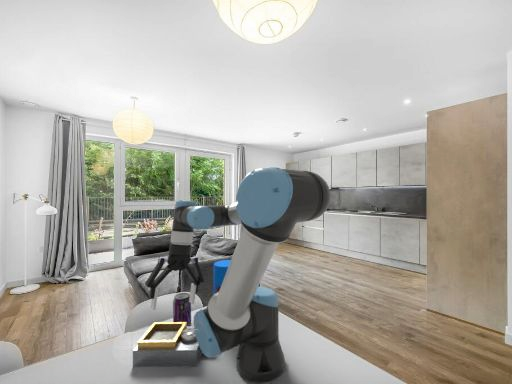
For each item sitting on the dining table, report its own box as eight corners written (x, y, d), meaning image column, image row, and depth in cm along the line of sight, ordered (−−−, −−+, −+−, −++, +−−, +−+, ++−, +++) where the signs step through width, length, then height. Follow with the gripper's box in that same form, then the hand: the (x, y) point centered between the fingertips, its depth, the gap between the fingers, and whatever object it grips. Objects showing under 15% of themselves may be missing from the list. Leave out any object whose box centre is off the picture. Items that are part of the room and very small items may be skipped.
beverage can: (186, 330, 95) (185, 299, 95) (169, 328, 97) (169, 298, 97) (194, 321, 102) (193, 292, 102) (178, 319, 104) (178, 291, 104)
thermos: (226, 315, 107) (226, 258, 108) (245, 322, 101) (244, 262, 101) (208, 325, 98) (207, 264, 99) (228, 334, 92) (227, 268, 93)
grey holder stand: (217, 339, 89) (217, 320, 89) (209, 366, 75) (209, 343, 75) (152, 340, 89) (152, 321, 89) (132, 366, 75) (132, 344, 75)
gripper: (207, 243, 97) (200, 298, 94) (141, 241, 82) (131, 307, 79) (216, 245, 91) (210, 303, 88) (147, 244, 76) (137, 315, 73)
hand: (173, 305), depth 83 cm, fingers open, 13 cm apart
